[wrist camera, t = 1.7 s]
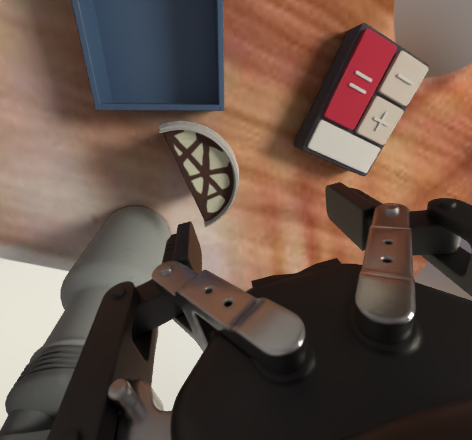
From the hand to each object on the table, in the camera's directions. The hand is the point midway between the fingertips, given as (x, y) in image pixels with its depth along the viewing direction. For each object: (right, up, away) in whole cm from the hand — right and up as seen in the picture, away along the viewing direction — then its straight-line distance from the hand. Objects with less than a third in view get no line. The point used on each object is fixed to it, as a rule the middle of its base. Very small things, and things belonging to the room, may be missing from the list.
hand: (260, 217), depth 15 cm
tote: (-10, +21, +14) cm, 27 cm away
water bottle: (-16, -2, +25) cm, 30 cm away
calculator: (+15, +16, +21) cm, 30 cm away
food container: (-5, +9, +21) cm, 23 cm away
